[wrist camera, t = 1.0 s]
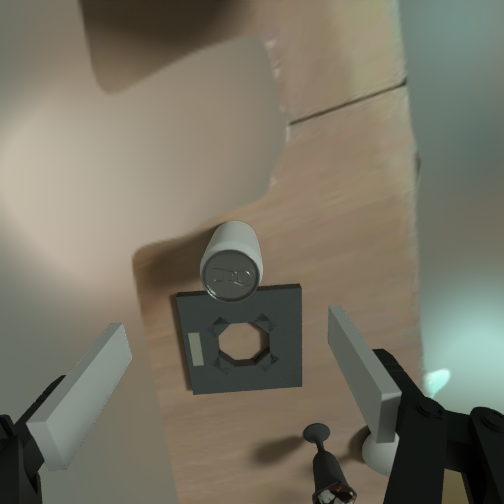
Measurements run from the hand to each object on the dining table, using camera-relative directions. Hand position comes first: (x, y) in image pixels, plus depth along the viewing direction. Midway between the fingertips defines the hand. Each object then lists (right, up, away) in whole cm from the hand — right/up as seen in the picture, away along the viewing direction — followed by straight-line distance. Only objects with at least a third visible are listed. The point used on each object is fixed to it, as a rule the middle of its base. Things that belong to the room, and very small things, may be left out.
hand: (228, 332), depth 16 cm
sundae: (+14, -29, +32) cm, 45 cm away
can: (-1, +6, +20) cm, 21 cm away
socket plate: (0, -9, +24) cm, 26 cm away
